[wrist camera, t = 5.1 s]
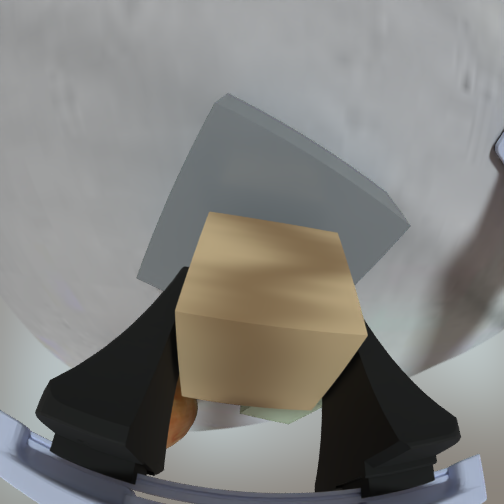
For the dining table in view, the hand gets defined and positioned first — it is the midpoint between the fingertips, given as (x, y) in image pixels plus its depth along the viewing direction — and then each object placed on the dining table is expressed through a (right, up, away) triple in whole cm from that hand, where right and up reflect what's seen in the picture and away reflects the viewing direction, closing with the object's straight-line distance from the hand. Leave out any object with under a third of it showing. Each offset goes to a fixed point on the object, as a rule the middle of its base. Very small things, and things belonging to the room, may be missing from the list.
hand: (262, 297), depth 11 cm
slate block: (0, +4, +6) cm, 7 cm away
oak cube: (0, +1, +1) cm, 2 cm away
